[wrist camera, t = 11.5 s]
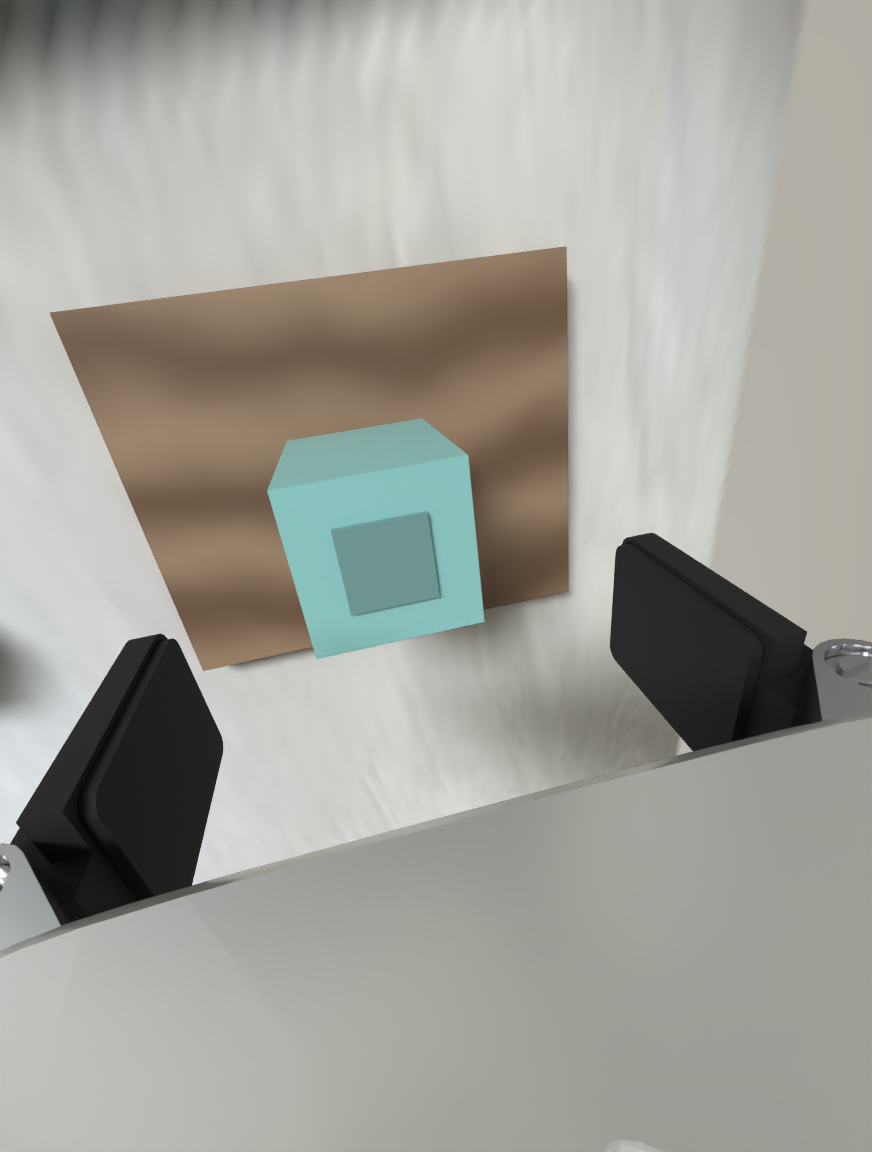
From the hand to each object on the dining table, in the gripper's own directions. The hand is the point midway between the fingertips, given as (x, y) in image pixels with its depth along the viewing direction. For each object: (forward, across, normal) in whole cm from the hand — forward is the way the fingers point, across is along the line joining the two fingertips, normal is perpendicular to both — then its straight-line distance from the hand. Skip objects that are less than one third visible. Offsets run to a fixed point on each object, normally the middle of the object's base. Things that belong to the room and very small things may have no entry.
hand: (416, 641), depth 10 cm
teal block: (+14, 0, +1) cm, 14 cm away
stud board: (+18, 0, +1) cm, 18 cm away
